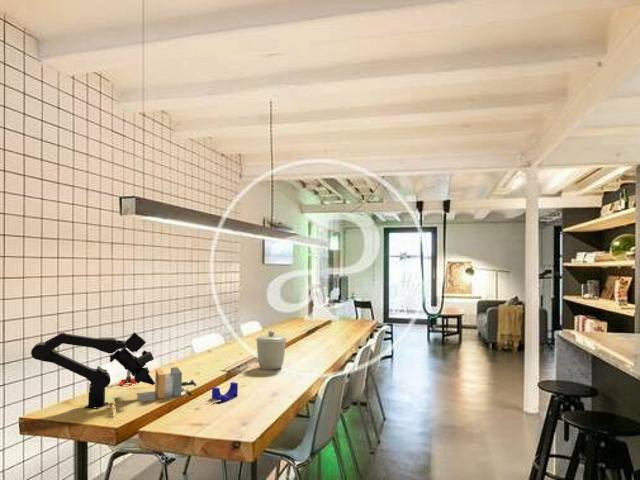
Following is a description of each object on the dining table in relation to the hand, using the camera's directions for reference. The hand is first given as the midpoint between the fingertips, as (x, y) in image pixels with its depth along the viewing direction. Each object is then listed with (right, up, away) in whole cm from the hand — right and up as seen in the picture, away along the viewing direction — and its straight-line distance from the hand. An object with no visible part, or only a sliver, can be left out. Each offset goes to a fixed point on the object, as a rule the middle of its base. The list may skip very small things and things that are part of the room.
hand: (154, 384), depth 194 cm
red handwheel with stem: (-22, -8, +24) cm, 33 cm away
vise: (+4, -7, +2) cm, 8 cm away
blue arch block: (+31, -7, 0) cm, 32 cm away
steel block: (+5, -5, +2) cm, 8 cm away
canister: (+44, -10, +60) cm, 75 cm away
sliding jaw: (+2, -5, +1) cm, 5 cm away
